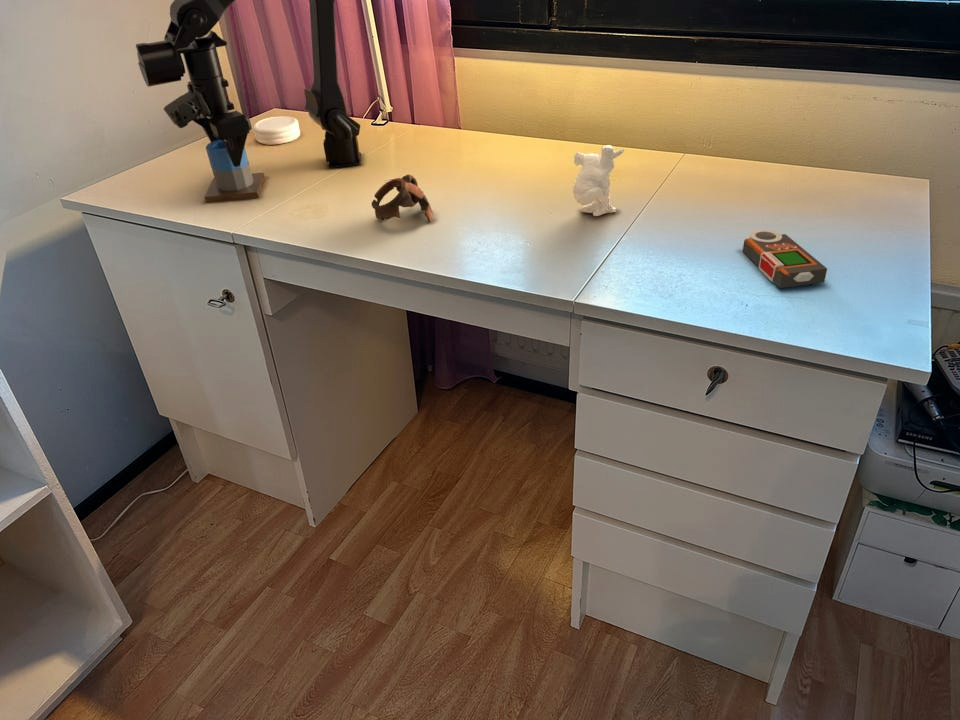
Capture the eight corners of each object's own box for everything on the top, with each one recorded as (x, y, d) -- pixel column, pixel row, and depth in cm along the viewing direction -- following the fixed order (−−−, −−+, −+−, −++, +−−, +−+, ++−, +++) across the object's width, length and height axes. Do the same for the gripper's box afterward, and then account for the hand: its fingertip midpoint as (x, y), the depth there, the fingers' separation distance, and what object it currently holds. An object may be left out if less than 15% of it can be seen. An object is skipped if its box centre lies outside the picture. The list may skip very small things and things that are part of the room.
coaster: (309, 132, 169) (306, 117, 167) (283, 147, 162) (279, 131, 160) (274, 128, 173) (270, 113, 171) (247, 143, 166) (243, 127, 164)
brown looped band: (434, 232, 125) (407, 198, 120) (390, 251, 129) (361, 219, 124) (441, 187, 133) (414, 154, 127) (399, 207, 137) (372, 175, 132)
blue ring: (250, 156, 144) (245, 136, 141) (245, 169, 138) (239, 148, 136) (215, 159, 143) (209, 139, 141) (208, 172, 138) (202, 152, 135)
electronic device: (778, 225, 114) (829, 267, 102) (775, 243, 116) (825, 286, 104) (737, 230, 114) (782, 272, 101) (734, 247, 115) (779, 291, 103)
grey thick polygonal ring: (255, 175, 146) (250, 156, 144) (250, 189, 141) (245, 169, 138) (220, 179, 146) (215, 159, 143) (214, 192, 140) (209, 172, 138)
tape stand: (265, 177, 148) (256, 139, 143) (258, 197, 140) (248, 157, 135) (215, 182, 148) (204, 143, 143) (205, 202, 140) (193, 162, 135)
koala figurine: (626, 208, 128) (630, 141, 121) (610, 223, 123) (614, 154, 116) (582, 199, 132) (584, 134, 125) (565, 214, 127) (566, 147, 120)
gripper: (145, 74, 134) (171, 157, 143) (177, 96, 121) (203, 185, 130) (205, 62, 139) (226, 143, 148) (241, 82, 126) (262, 168, 135)
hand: (228, 159), depth 140 cm, fingers open, 9 cm apart
